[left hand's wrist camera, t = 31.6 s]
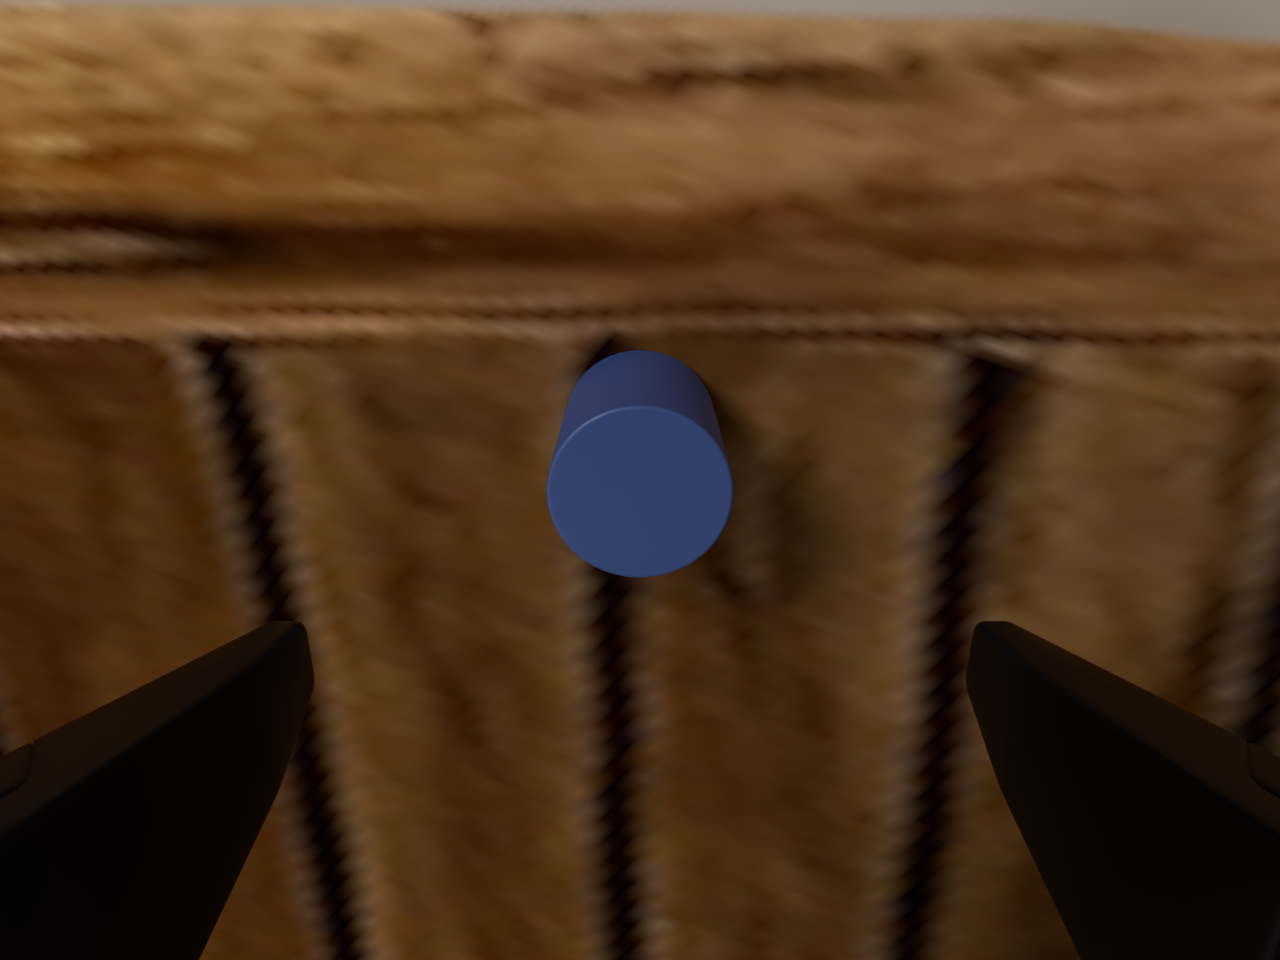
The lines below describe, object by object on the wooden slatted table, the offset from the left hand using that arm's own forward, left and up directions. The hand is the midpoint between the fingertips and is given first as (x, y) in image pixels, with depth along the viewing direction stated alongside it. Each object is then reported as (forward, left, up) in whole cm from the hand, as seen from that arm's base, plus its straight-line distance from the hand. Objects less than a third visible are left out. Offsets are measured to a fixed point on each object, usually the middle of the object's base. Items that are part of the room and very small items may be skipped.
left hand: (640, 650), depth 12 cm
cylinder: (0, 0, -9) cm, 9 cm away
